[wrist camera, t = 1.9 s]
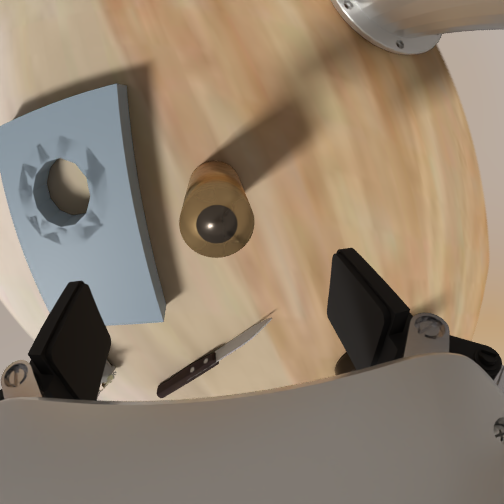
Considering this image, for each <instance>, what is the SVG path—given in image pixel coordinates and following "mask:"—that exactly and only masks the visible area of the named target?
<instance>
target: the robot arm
mask: <svg viewBox="0 0 504 504" xmlns="http://www.w3.org/2000/svg"><path fill="white" fill-rule="evenodd" d="M331 1H332V3H333V5H334V7H335V8H336V10H337V11H338V12H339V14H340V15H341V16H342V18H343V19H344V20H345V21H346V22H347V23H348V24H349V25H350V26H351V27H352V28H353V29H354V30H355V31H356V32H357V33H359V34H360V35H361V36H362V37H363V38H365V39H366V40H368V41H369V42H371V43H373V44H374V45H376V46H378V47H380V48H382V49H384V50H386V51H390V52H393V53H396V54H404V55H412V54H420V53H424V52H427V51H428V50H430V49H432V48H433V47H434V46H435V45H436V44H437V43H438V41H439V40H440V38H441V35H442V34H444V33H452V32H461V31H474V30H493V29H494V30H495V29H504V0H331ZM409 311H410V309H409V308H408V307H407V305H406V304H405V303H404V302H403V301H402V300H401V299H400V298H399V296H398V295H397V294H396V293H395V292H394V291H393V290H392V289H391V288H390V287H389V285H388V284H387V283H386V282H385V281H384V280H383V279H382V278H381V277H380V276H379V275H378V274H377V272H376V271H375V270H374V269H373V268H372V267H371V266H370V265H369V264H368V263H367V262H366V261H365V260H364V259H363V258H362V257H361V256H360V255H359V254H358V253H357V252H356V251H355V250H354V249H353V248H347V249H339V250H338V251H337V253H336V254H334V255H333V258H332V268H331V279H330V288H329V297H328V306H327V315H328V318H329V320H330V322H331V324H332V326H333V328H334V329H335V331H336V333H337V335H338V337H339V339H340V340H341V342H342V344H343V346H344V348H345V349H346V351H347V353H348V355H349V357H350V359H351V361H352V362H353V364H354V366H355V368H356V371H352V372H348V373H344V374H340V375H336V376H332V377H328V378H324V379H319V380H315V381H310V382H305V383H301V384H296V385H291V386H285V387H280V388H274V389H268V390H262V391H255V392H249V393H242V394H234V395H226V396H217V397H207V398H196V399H182V400H163V401H97V396H98V392H99V388H100V384H101V380H102V376H103V372H104V368H105V364H106V360H107V357H108V353H109V350H110V346H111V338H110V335H109V333H108V331H107V329H106V326H105V324H104V322H103V319H102V317H101V315H100V312H99V310H98V308H97V305H96V303H95V300H94V298H93V295H92V293H91V290H90V287H89V285H88V284H85V283H84V282H83V281H73V282H69V283H68V284H67V286H66V287H65V289H64V291H63V292H62V294H61V295H60V297H59V299H58V300H57V302H56V304H55V305H54V307H53V309H52V310H51V312H50V314H49V316H48V317H47V319H46V321H45V323H44V324H43V326H42V328H41V330H40V332H39V334H38V335H37V337H36V339H35V341H34V343H33V345H32V347H31V349H30V351H29V353H28V355H29V356H30V358H31V361H30V363H28V362H27V361H24V360H18V361H15V362H13V363H12V364H10V365H9V366H8V367H7V368H6V369H5V370H4V372H3V374H2V377H1V386H2V389H1V390H0V504H504V366H503V365H502V361H501V358H500V356H499V354H498V353H497V352H496V351H495V350H494V349H492V348H491V347H488V346H486V345H482V344H479V343H475V342H472V341H468V340H465V339H461V338H458V337H454V336H451V335H449V327H448V325H447V323H446V322H445V321H444V320H443V319H442V318H440V317H439V316H437V315H434V314H431V313H419V314H417V315H415V316H414V317H413V316H412V315H411V313H410V312H409Z"/></svg>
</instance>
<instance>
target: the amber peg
mask: <svg viewBox="0 0 504 504" xmlns="http://www.w3.org/2000/svg"><path fill="white" fill-rule="evenodd" d="M179 226H180V232H181V235H182V237H183V239H184V241H185V242H186V244H187V245H188V246H189V247H190V248H191V249H192V250H194V251H195V252H197V253H199V254H201V255H204V256H207V257H215V258H218V257H225V256H229V255H231V254H234V253H236V252H237V251H239V250H240V249H242V248H243V247H244V246H245V245H246V243H247V242H248V241H249V239H250V238H251V235H252V233H253V229H254V215H253V212H252V209H251V207H250V204H249V202H248V199H247V197H246V194H245V192H244V189H243V187H242V185H241V182H240V180H239V177H238V175H237V173H236V171H235V170H234V169H233V168H232V167H231V166H230V165H228V164H226V163H224V162H220V161H209V162H206V163H203V164H202V165H200V166H199V167H197V168H196V169H195V170H194V172H193V173H192V175H191V178H190V181H189V184H188V188H187V192H186V196H185V199H184V203H183V207H182V211H181V215H180V221H179Z"/></svg>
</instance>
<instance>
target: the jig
mask: <svg viewBox="0 0 504 504" xmlns="http://www.w3.org/2000/svg"><path fill="white" fill-rule="evenodd" d="M58 158H62V159H65V160H67V161H70V162H73V163H75V164H76V165H77V166H78V167H79V169H80V170H81V171H82V173H83V174H84V175H85V176H86V178H87V182H88V187H89V192H90V200H89V204H88V208H87V212H86V213H84V214H79V215H70V214H68V213H66V212H63V211H61V210H59V208H58V207H57V206H56V205H55V203H54V202H53V201H52V200H51V198H50V194H49V190H48V186H47V180H48V175H49V170H50V167H51V166H52V165H53V164H54V162H55V161H56V160H57V159H58ZM0 173H1V177H2V182H3V186H4V191H5V195H6V199H7V202H8V206H9V210H10V213H11V217H12V220H13V223H14V227H15V230H16V233H17V236H18V239H19V242H20V245H21V247H22V250H23V253H24V255H25V258H26V261H27V263H28V266H29V268H30V271H31V273H32V276H33V278H34V280H35V283H36V285H37V287H38V289H39V292H40V294H41V296H42V298H43V300H44V302H45V304H46V306H47V308H48V310H49V312H51V310H52V309H53V307H54V305H55V304H56V302H57V300H58V299H59V297H60V295H61V294H62V292H63V291H64V289H65V287H66V286H67V284H68V283H69V282H73V281H83V282H84V283H85V284H88V285H89V287H90V290H91V293H92V295H93V298H94V300H95V303H96V305H97V308H98V310H99V312H100V315H101V317H102V319H103V322H104V324H105V326H107V325H126V324H142V323H156V322H164V316H165V310H166V302H165V299H164V295H163V291H162V287H161V284H160V280H159V276H158V272H157V268H156V264H155V260H154V256H153V251H152V247H151V243H150V238H149V234H148V229H147V224H146V219H145V214H144V209H143V204H142V199H141V193H140V188H139V182H138V176H137V170H136V163H135V157H134V150H133V142H132V134H131V126H130V117H129V107H128V96H127V86H125V85H121V84H113V85H109V86H105V87H101V88H98V89H94V90H91V91H88V92H84V93H81V94H78V95H75V96H72V97H69V98H66V99H63V100H60V101H58V102H55V103H52V104H50V105H47V106H44V107H42V108H39V109H37V110H34V111H32V112H30V113H27V114H25V115H23V116H21V117H18V118H16V119H14V120H12V121H10V122H8V123H6V124H4V125H2V126H0Z"/></svg>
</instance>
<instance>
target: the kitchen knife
mask: <svg viewBox="0 0 504 504" xmlns="http://www.w3.org/2000/svg"><path fill="white" fill-rule="evenodd" d="M271 319H272V318H268V319H266V320H264V321H262V322H260V323H258V324H256V325H254V326H253V327H251V328H249V329H248V330H246V331H244V332H243V333H241V334H240V335H238V336H237V337H235V338H234V339H232V340H231V341H229V342H228V343H227V344H225V345H224V346H222V347H221V348H219V349H217V350H216V351H215V353H212V354H210V355H208V356H206V357H204V358H202V359H200V360H198V361H196V362H194V363H193V364H191V365H189V366H188V367H186V368H184V369H183V370H181V371H180V372H179V373H177V374H176V375H175V376H174V377H172V378H171V379H170V380H168V381H167V382H165V383H162V384H160V385H159V386H158V389H157V396H158V397H160V398H164V397H165V396H167V395H169V394H170V393H172V392H174V391H175V390H177V389H179V388H181V387H182V386H184V385H185V384H187V383H189V382H190V381H192V380H194V379H195V378H197V377H199V376H200V375H202V374H203V373H205V372H207V371H208V370H210V369H211V368H213V367H215V366H216V365H218V364H219V361H220V360H221V359H223V358H224V357H226V356H227V355H229V354H230V353H232V352H233V351H235V350H236V349H238V348H239V347H241V346H242V345H244V344H245V343H247V342H248V341H250V340H251V339H252V338H253V337H254V336H255V335H256V334H257V333H259V332H260V331H261V330H262V329H263V328H264V327H265V326H266V325H267V324H268V323H269V322H270V321H271Z"/></svg>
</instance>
